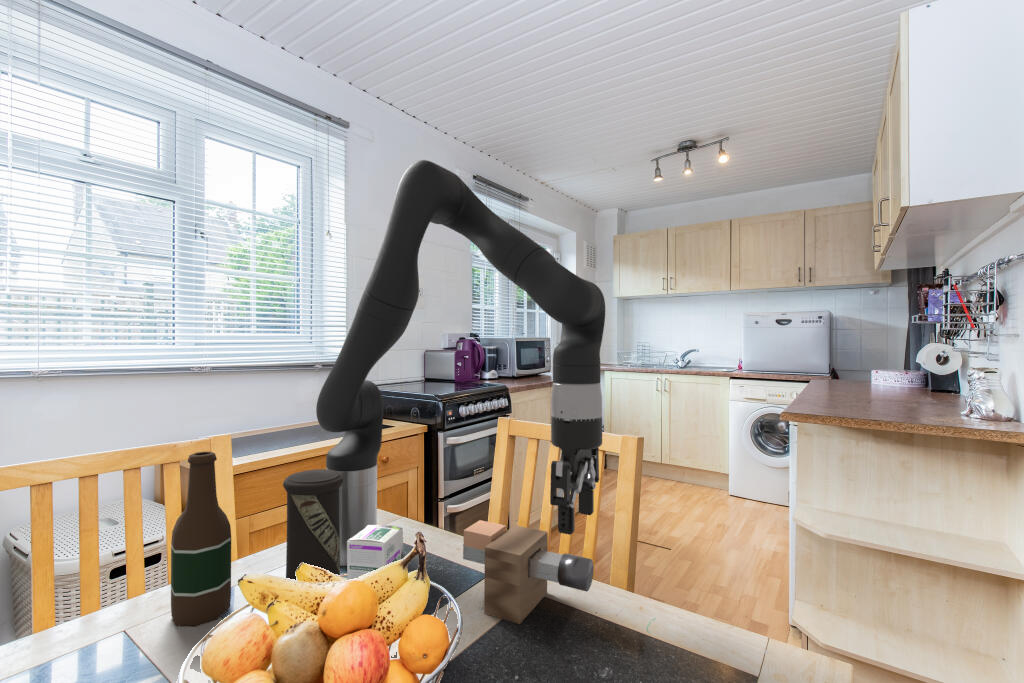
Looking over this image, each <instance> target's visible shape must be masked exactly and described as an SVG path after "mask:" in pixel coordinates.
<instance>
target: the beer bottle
mask: <svg viewBox="0 0 1024 683" xmlns="http://www.w3.org/2000/svg"><path fill="white" fill-rule="evenodd" d="M217 460H218V459H217V455H216V453H215V452H213V451H199V452H195V453H192V454H189V455H188V458H187V462H188V463H189V472H188V483H187V484H188V485H187V499H186V502H185V507H184V510H183V511H182V512H181V514H180V515H179V517H177V519H176V522H175V523H174V526H173V529H172V531H171V542H170V613H171V614H170V615H171V618H172V621H173V622H174V625H175V626H176V627H184V628H185V627H189V628H191V627H192V628H195V627H196V628H197V627H199V626H202V625H205V624H208V623H211V622H214V621H217V620H218V619H220V618H221V617H222V616H223V615H224V614H225V613H227V611H228V610H229V609H230V607H231V600H232V528H231V523H230V521H229V519H228V516H227V515H226V512H224V510H223V508H221V507H220V505H219V500H218V496H217V494H218V493H217V482H216V481H217V480H216V478H217V477H216V465H215V462H216V461H217Z"/></svg>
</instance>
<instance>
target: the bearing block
mask: <svg viewBox="0 0 1024 683" xmlns="http://www.w3.org/2000/svg"><path fill="white" fill-rule="evenodd" d="M548 536H549V535H548V531H546V530H541V529H536V528H531V527H526V526H520V525H518V524H517V525H516V524H514V525H513V526H511V528H509V529H507V530H506V532H505V533H503V534H502V535H501V536H499V537H498V538H497V539H495V540H494V541H492V542H491V543H490V544H488V545H487V546H486V547H485V564H484V583H483V584H484V590H483V591H484V592H483V593H484V595H483V596H484V597H483V598H484V604H483V605H484V606H483V608H484V609H483V610H484V611H483V613H484V614H486V615H489V616H492V617H495V618H498V619H502V620H505V621H508V622H512V623H514V624H517V625H520V624H522V623H523V621H524V620H525V619H526V618H527V617H528V616H529V614H530V613H531V612H532V611H533V610H534V609H535V608H536V606H537V605H538V604H539V603H540V602H541V601H542V599H543V598H544V597H545V596H546V595H547V594H548V580H545V579H541V578H537V577H533V576H529V575H528V558H529V557H530V556H531V555H533V554H534V553H535V552H536V551H537V550H538V549H539V550H544V551H548V547H549V546H548V544H549V543H548V542H549V541H548Z"/></svg>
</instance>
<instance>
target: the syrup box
mask: <svg viewBox="0 0 1024 683" xmlns="http://www.w3.org/2000/svg"><path fill="white" fill-rule="evenodd" d="M402 558H403V559H404V529H403V527H401V526H395V525H390V524H389V525H387V524H377V525H367V526H366V528H365V529H363V530H362V531H360V532H359V533H357V534H356V535H355V536H353V537H352V538H350V539H349V540H348V541H347V566H346V569H347V575H346V576H347V577H346V578H347V580H349V579H354V578H358V577H359V576H361V575H363V574H366V573H368V572H371V571H373V570H376V569H378V568H380V567H382V566H385V565H387V564H389V563H391V562H394V561H397V560H399V559H402Z"/></svg>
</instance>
